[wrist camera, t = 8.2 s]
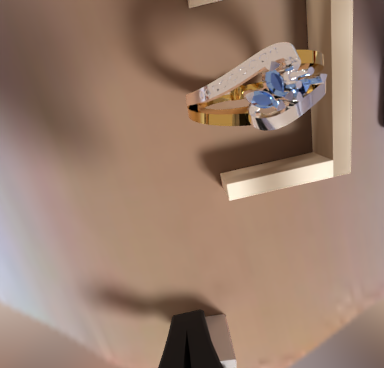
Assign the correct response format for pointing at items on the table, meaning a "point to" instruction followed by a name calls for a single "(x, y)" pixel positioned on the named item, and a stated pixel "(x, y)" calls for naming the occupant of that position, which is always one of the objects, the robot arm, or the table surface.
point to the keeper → (312, 110)
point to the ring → (264, 89)
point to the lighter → (221, 340)
